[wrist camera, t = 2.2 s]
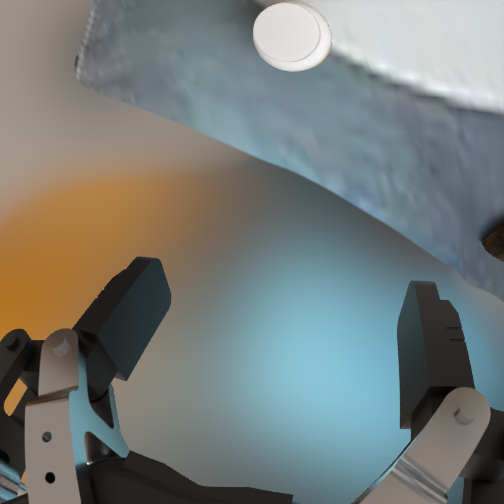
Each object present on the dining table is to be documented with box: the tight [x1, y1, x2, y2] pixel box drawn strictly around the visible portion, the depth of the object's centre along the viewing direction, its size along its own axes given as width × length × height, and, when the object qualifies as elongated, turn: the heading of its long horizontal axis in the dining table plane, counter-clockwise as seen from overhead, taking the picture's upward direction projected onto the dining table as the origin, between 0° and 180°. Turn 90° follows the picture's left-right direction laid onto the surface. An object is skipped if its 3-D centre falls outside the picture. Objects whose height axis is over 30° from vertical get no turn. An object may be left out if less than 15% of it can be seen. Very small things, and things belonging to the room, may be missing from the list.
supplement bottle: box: [253, 1, 332, 71], centre depth 19 cm, size 5×5×10 cm
